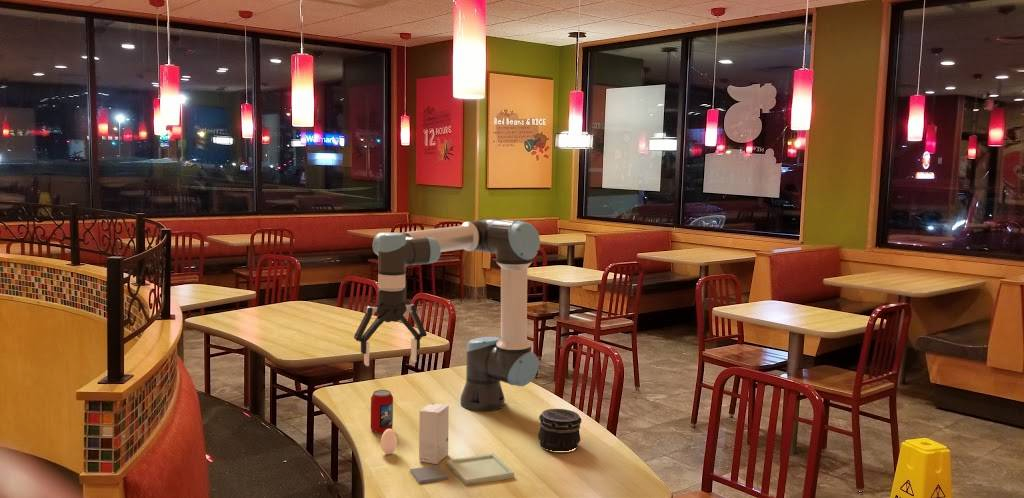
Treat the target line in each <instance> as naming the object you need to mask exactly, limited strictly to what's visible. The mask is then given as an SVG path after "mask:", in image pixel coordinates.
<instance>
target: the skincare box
mask: <svg viewBox="0 0 1024 498" xmlns="http://www.w3.org/2000/svg"><path fill="white" fill-rule="evenodd" d="M449 412H450V411H449V405H448V404H440V403H429V404H428V405H426V406H424V408H421V410H419V427H418V428H419V431H418V432H419V433H418V436H419V439H418V443H419V444H418V449H419V450H418V461H419V462H421V463H428V464H433V465H439V463H440V462H441V461H442V460H443V459H444V458H445V457H447V456H448V455H449Z"/></svg>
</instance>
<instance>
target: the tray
mask: <svg viewBox="0 0 1024 498" xmlns="http://www.w3.org/2000/svg"><path fill="white" fill-rule="evenodd" d="M446 463H447V464H446V465H447V467H449V469H450V470H451V471H452V472H453V473H454V474H455V476H456V477H458V479H459V480H460V481H461V482H462V484H464V486H469V485H475V484H482V483H488V482H494V481H495V482H496V481H503V480H508V479H514V478H515V472H514V471H513V470H512V469H511V468H510V467H509V466H508V465H507V464H506V463H505V462H504V461H502V460H501V459H500V458H499V457H498V455H496V454H495V453H488V454H487V453H486V454H479V455H473V456H465V457H458V458H451V459H447V462H446Z"/></svg>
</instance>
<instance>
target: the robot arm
mask: <svg viewBox="0 0 1024 498" xmlns="http://www.w3.org/2000/svg"><path fill="white" fill-rule="evenodd" d="M540 247H541V239H540V234H539V231H538V230H537V229H536V227H535V226H534V225H533V224H532V223H529V222H526V221H522V220H517V219H516V220H515V219H503V218H495V217H493V218H485V219H478V220H472V221H465V222H463V223H462V224H461V225H457V226H449V227H448V226H447V227H439V228H438V227H437V228H430V229H429V228H428V229H421V230H420V229H419V230H412V231H404V232H389V231H388V232H379V233H378V234H376V235H375V236H374V238H373V241H372V251H373V253H374V254H375V255H377V260H378V261H377V262H378V264H377V265H378V268H377V269H378V271H377V272H378V275H377V287H378V289H377V305H376V307H375V306H369V305H367V306H366V307H365V314H364V316H363V318H362V319H361V322H360V324H359V325H358V328H357V330H356V332H355V334H354V335H353V339H355V341H356V342H360V353H361V354H362V355H363V364H364V365H365V366H366V367H369V366H370V342H369V340H370V338H371V337H372V336H373V334H374V333H376V331H377V330H378V329H379V327H380V326H381V325H382V324H383V323H384V322H386V323H391V322H394V323H396V322H399V321H401V323H402V324H403V325H404V326H405V328H407V330H408V331H409V332H410V334H412V336H413V337H411V339H410V341H411V343H410V344H411V345H410V346H411V347H410V360H411V362H413V363H417V354H418V353H417V350H420V348H421V340H422V338H423V337H426V336H427V331H426V330H425V327H424V326H423V323H422V321H421V319H420V316H419V314H418V311H417V306H416V305H415V304H414V303H409V304H408V305H406V290H405V287H406V271H407V269H406V268H407V267H409V266H419V265H429V264H434V263H436V262H437V261H438V260H439V259H440V257H441V255H442V254H441V253H443V252H444V253H445V252H450V251H453V252H454V251H458V250H464V251H466V252H475V251H476V252H483V253H484V252H485V253H489V254H493V255H495V262H496V264H497V265H498V266H499V267H500V337H498V336H497V337H496V336H484V337H476V338H473V339H470V340H469V341H468V342H467V348H466V349H467V350H466V374H465V375H466V377H465V379H466V380H465V384H464V387H463V390H462V392H461V395H460V405H461V406H462V407H463V408H466V409H468V410H471V411H477V412H478V411H480V412H484V411H485V412H486V411H487V412H488V411H496V410H500V409H502V408H503V407H504V406H505V399H506V398H505V395H504V392H503V389H502V388H503V387H502V384H501V382H503V383H506V384H508V385H510V386H516V387H524V386H527V385H528V384H530V383H531V382H532V381H533V379H534V378H535V376H536V375H537V372H538V370H539V364H540V362H539V357H538V356H537V354H535V353H534V352H532V342H531V341H530V340H528V337H527V336H528V268H529V266H530V265H531V264H533V259H534V258H535V257H536V256H537V255H538V251H539V250H540ZM406 312H407V313H410V315H411V318H412V319H413V322H414V324H415V325H416V327H417V330H418V331H419V332H418V331H417V330H416V329H415V328H414V327H413V325H411V323H410V322H409V321H408V320H407V318H406V316H404V314H405V313H406ZM375 313H377V314H378V315H377V316H376V318H375V320H374V321H373V322H372V324H370V326H369V327H368V325H369V323H370V321H371V319H372V316H374V315H375ZM367 327H368V328H367ZM501 407H502V408H501Z"/></svg>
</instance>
